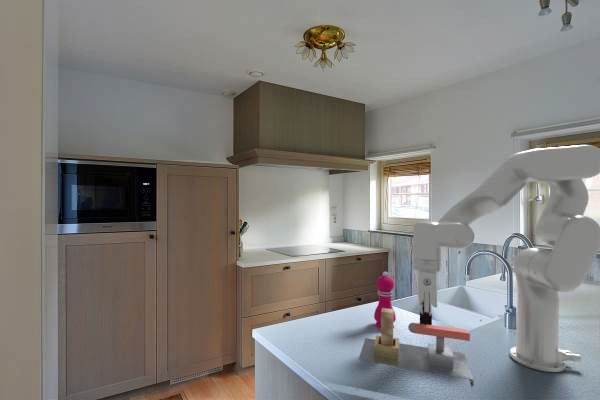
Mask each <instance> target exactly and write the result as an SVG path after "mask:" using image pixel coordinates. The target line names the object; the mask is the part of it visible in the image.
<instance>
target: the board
mask: <svg viewBox="0 0 600 400" xmlns="http://www.w3.org/2000/svg"><path fill="white" fill-rule="evenodd" d="M375 339H376V338H368V337H366V338H365V339H364V342H363V345H362V347H361V348H362V349H361V351H360V354H359V357H358V360H360V361H365V362H369V363H370V362H371V363H375V364H376V363H377V364H382V365H387V366H388V365H389V366H394V367H398V368H404V369H410V370H416V371H422V372H428V373H433V374H439V375H442V376H443V375H444V376H449V377H455V378H460V379H461V378H462V379H468V380H469V383H470V385H474V384H475V383H474V381H475V380H474V377H473V373H472V371H471V368H470V365H469V363H468V360H467V357H466V354H465V353H464V352H459V351H453V350H452V346H450V345H449V346H448V345H444V351H443V352H441V351H437V350H436V343H435V344H434V343H427V346H426V347H425V346H420V345H413V344H405V343H401V342H399V360H398V359H392V358H386V357H380V356H375V355H374V343H375Z"/></svg>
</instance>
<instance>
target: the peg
mask: <svg viewBox="0 0 600 400" xmlns="http://www.w3.org/2000/svg"><path fill="white" fill-rule="evenodd" d="M393 312H395V310H394V308H393V309H387V308H382V311H381V329H380V336H381V344H383V345H389V346H393V338H394V328H393V324H394V323H393Z"/></svg>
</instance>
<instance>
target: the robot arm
mask: <svg viewBox="0 0 600 400" xmlns="http://www.w3.org/2000/svg"><path fill="white" fill-rule="evenodd" d="M599 174H600V148H599V147H597V146H595V145H590V144H580V145H570V146H558V147H545V148H533V149H529V150H524V151H521V152H520V151H519V152H515V153H513V154H511V155H509V156H508V157H507V158H506V159H505V160H504V161H502V163H500V164H499V166H498V167H496V169H494V171H493V172H492V173H491V174H490V175H488V177H487V178H486V179H485V180H484V181H483V182H482V183H481V184H480V185H479V186H478V187H477V188H476V189H475V190H473V191H471V192H470V193H469V194H467V195H466V196H465V197H463V199H461V200H459V201H458V202H457V203H455V204H454V205H453V206H452V207H451V208H449V209H448V211H447V212H446V213H445V214H443V216H442V217H440V219H439V220H438V221H437V222H436V221H429V220H428V221H426V220H423V221H420V220H419V221H416V222H415V223H414V224H413V230H412V231H413V234H412V236H413V237H412V269H413V270H415V271H416V291H417V301H418V306H420V312H419V324H427V325H433V315H432V307H433V308H434V309H436V308H438V273H439V272H441V270H442V269H441V267H442V248H448V249H455V250H463V249H466V248H469V247H470V246H471V245H472V244H473V242H474V241H475V232H474V230H473V229H472V228H471V226H470V225H471V224H472V223H473V222H475V221H477V220H478V219H481V218H482V217H485V216H487V215H490V214H493V213H496V212H499V211H500V210H502V209H504V208H505V207H506V206H507V205H508V204H509V203H510V202H511V201H512V200H513V199H514V198H515V197H516V196H517V195H518V194H519V193H520V192H521V191H522V190H523V189H524V188H525V187H526V186H527V185H528V184H529V183H533V182H547V185H548V188H549V195H548V199H547V200H546V201H547V202H546V203H545V206H544V208H543V209H542V211H541V214H540V216H539V219H538V221H537V223H536V224H535V228H534V231H533V233H534V237H535V239H536V240H537V241H538V242H539V243H541V244H542V245H545V246H548V247H552V249H551V250H547V249H543V248H540V247H527V248H524V249H522V250H520V251H519V252H518V253H517V254H516V256H515V258H514V260H513V261H514V262H513V269H514V274H515V275H514V276H515V281H516V292H517V293H516V334H515V335H516V336H515V337H516V342H515V343H516V344H515V345H516V346H512V347H511V348H510V350H509V356H510V357H511V358H512V359H513V360H514V361H516V362H517V363H518V364H520V365H523V366H525V367H527V368H529V369H530V368H531V369H533V370H537V371H541V372H545V373H546V372H547V373H560V372H563V371H565V370H566V368H567V367H566V362H568V361H571V362H575V363H581V362H582V357H581V355H580V354H576V353H571V351H570V350H565V349H561V348H560V347H559V345H560V344H559V340H560V339H559V338H560V337H559V335H560V332H559V331H560V330H559V329H560V298H559V297H560V296H559V293H570V292H573V291H575V290H576V289H578V288H579V287H581V286H582V284H583V283H584V282H585V280H586V278H587V277H588V274H589V272H590V270H591V268H592V266H593V265H594V261H595V259H596V257H597V255H598V253H599V251H600V224H599V223H598V222H597V221H596V220H595V219H593V218H591V217H589V216H586V215H584V214H585V211H586V209H587V207H588V204H589V199H590V198H589V191H588V188H587V186H586V184H585V182H584V181H583V179H590V178H594V177H596V176H598V175H599Z"/></svg>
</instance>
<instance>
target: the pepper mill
mask: <svg viewBox="0 0 600 400" xmlns="http://www.w3.org/2000/svg"><path fill="white" fill-rule="evenodd" d="M388 275H389V274H388V272H387V271H383V272H382V275H381V276H379V277H378V278H377V280H376V287H377V295H378V298H379V299H378V304H377V306H376V308H375V310H374V313H373V314H374V315H373V318H374V320H375V321H376V322H375V325H374V326H375V327H376V328H377V329H380V330H381V311H382V308H387V309H394V308H393V306H392V305H393V304H392V296H393V295H394V294H393V292H394V291H393V289H394V288H395V282H394V280H393V278H392V277H390V276H388ZM395 312H396V311H394V312H393V329H395V325H394V323H395V321H397V320H396V319H397V318H396V313H395Z"/></svg>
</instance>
